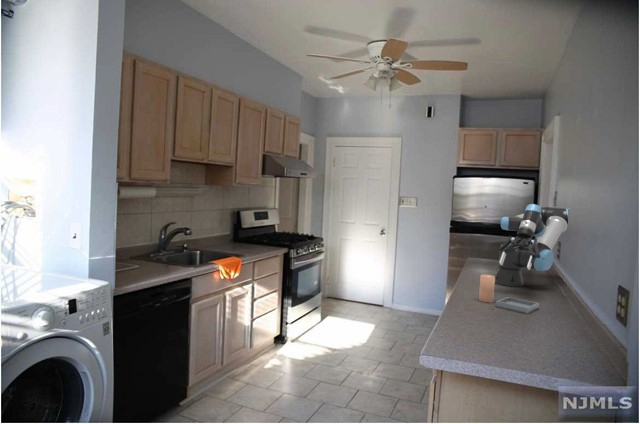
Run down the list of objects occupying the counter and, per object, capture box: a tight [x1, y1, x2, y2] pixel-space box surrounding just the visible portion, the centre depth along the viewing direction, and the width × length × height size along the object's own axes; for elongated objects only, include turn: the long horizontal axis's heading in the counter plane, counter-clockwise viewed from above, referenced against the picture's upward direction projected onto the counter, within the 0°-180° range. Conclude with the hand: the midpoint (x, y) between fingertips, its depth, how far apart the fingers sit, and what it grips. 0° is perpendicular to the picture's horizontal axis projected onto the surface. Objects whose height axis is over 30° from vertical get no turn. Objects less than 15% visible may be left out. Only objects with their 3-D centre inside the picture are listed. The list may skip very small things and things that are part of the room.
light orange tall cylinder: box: [478, 274, 496, 303], centre depth 210 cm, size 6×6×12 cm
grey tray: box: [495, 296, 540, 315], centre depth 200 cm, size 14×14×2 cm
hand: (514, 266), depth 222 cm, fingers open, 13 cm apart
